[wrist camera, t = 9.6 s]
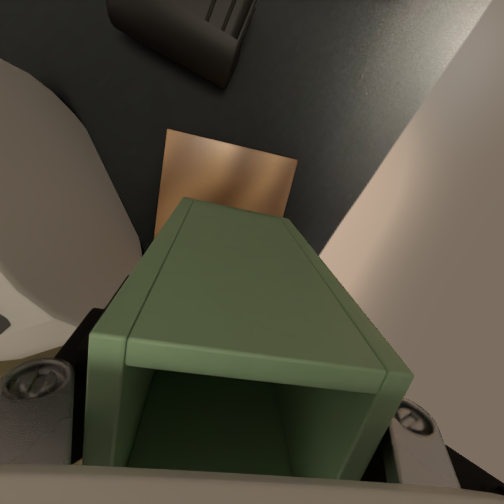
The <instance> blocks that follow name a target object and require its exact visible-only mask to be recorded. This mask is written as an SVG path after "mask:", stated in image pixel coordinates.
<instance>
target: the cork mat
mask: <svg viewBox="0 0 504 504" xmlns="http://www.w3.org/2000/svg"><path fill="white" fill-rule="evenodd" d="M297 163H298V160H296V159H292V158H288V157H284V156H279V155H275V154H271V153H267V152H263V151H259V150H255V149H250V148H246V147H242V146H238V145H234V144H230V143H226V142H221V141H217V140H213V139H209V138H205V137H201V136H197V135H192V134H188V133H184V132H180V131H176V130H172V129H167V134H166V142H165V150H164V158H163V167H162V175H161V183H160V191H159V199H158V208H157V216H156V224H155V232H154V239H155V237H156V236H157V235H158V233H159V232H160V230H161V229H162V227H163V226H164V224H165V223H166V221H167V220H168V219H169V217H170V216H171V214H172V213H173V211H174V210H175V208H176V207H177V205H178V204H179V202H180V201H181V199H182V198H183V197H187V198H192V199H197V200H201V201H206V202H211V203H216V204H221V205H225V206H230V207H235V208H240V209H244V210H249V211H254V212H259V213H263V214H268V215H273V216H278V217H283V214H284V211H285V207H286V203H287V200H288V196H289V192H290V189H291V185H292V181H293V177H294V174H295V170H296V166H297Z"/></svg>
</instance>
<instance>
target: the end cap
mask: <svg viewBox="0 0 504 504" xmlns="http://www.w3.org/2000/svg"><path fill="white" fill-rule="evenodd" d="M256 1H257V0H106V2H107V11H108V16H109V18H110V21H111V23H112V24H113V26H114V27H115V28H116V29H118V30H120V31H122V32H123V33H125V34H127V35H129V36H131V37H132V38H134V39H136V40H138V41H139V42H141V43H143V44H145V45H147V46H148V47H150V48H152V49H154V50H155V51H157V52H159V53H161V54H163V55H164V56H166V57H168V58H170V59H172V60H173V61H175V62H177V63H179V64H180V65H182V66H184V67H186V68H188V69H189V70H191V71H193V72H195V73H196V74H198V75H200V76H202V77H204V78H205V79H207V80H209V81H211V82H213V83H214V84H216V85H218V86H220V87H221V88H225V87H226V86H227V84H228V82H229V80H230V78H231V76H232V74H233V72H234V69H235V67H236V65H237V62H238V59H239V53H240V48H241V43H242V40H243V38H244V35H245V33H246V31H247V28H248V26H249V23H250V21H251V18H252V16H253V13H254V11H255V4H256Z"/></svg>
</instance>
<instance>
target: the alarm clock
mask: <svg viewBox="0 0 504 504" xmlns="http://www.w3.org/2000/svg"><path fill="white" fill-rule="evenodd" d="M141 258H142V250H141V245H140V241H139V237H138V235H137V233H136V231H135V229H134V227H133V225H132V223H131V221H130V219H129V217H128V215H127V212H126V210H125V208H124V206H123V204H122V202H121V200H120V198H119V196H118V194H117V192H116V190H115V188H114V186H113V184H112V182H111V179H110V177H109V175H108V173H107V171H106V169H105V167H104V165H103V163H102V161H101V159H100V157H99V155H98V153H97V151H96V148H95V146H94V144H93V142H92V140H91V138H90V136H89V134H88V132H87V130H86V128H85V127H84V126H83V124H82V123H81V122H80V120H79V119H78V118H77V117H76V115H75V114H74V113H73V112H72V111H71V110H70V109H69V108H68V107H67V106H66V105H65V104H64V103H63V102H62V101H61V100H60V99H59V98H58V97H57V96H56V95H55V94H54V93H53V92H52V91H51V90H49V89H48V88H47V87H46V86H44V85H43V84H42V83H40V82H39V81H38V80H36V79H35V78H34V77H33V76H31V75H30V74H29V73H27V72H25V71H23V70H21V69H19V68H17V67H15V66H13V65H11V64H9V63H7V62H5V61H3V60H1V59H0V361H6V360H16V359H22V358H25V357H28V356H31V355H35V354H38V353H41V352H44V351H47V350H50V349H53V348H57V347H60V346H63V345H64V344H65V343H66V341H67V340H68V339H69V337H70V336H71V335H72V334H73V332H74V331H75V330H76V328H77V327H78V326H79V325H80V323H81V322H82V321H83V319H84V318H85V317H86V315H87V314H88V313H89V312H90V310H91V309H92V308H100V309H105V307H106V306H107V304H108V303H109V301H110V300H111V299H112V297H113V296H114V294H115V293H116V291H117V290H118V288H119V287H120V286H121V284H122V283H123V281H124V280H125V278H126V277H127V276H128V275H130V274H131V272H132V271H133V270H134V268H135V267H136V265H137V264H138V262H139V261H140V259H141Z"/></svg>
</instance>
